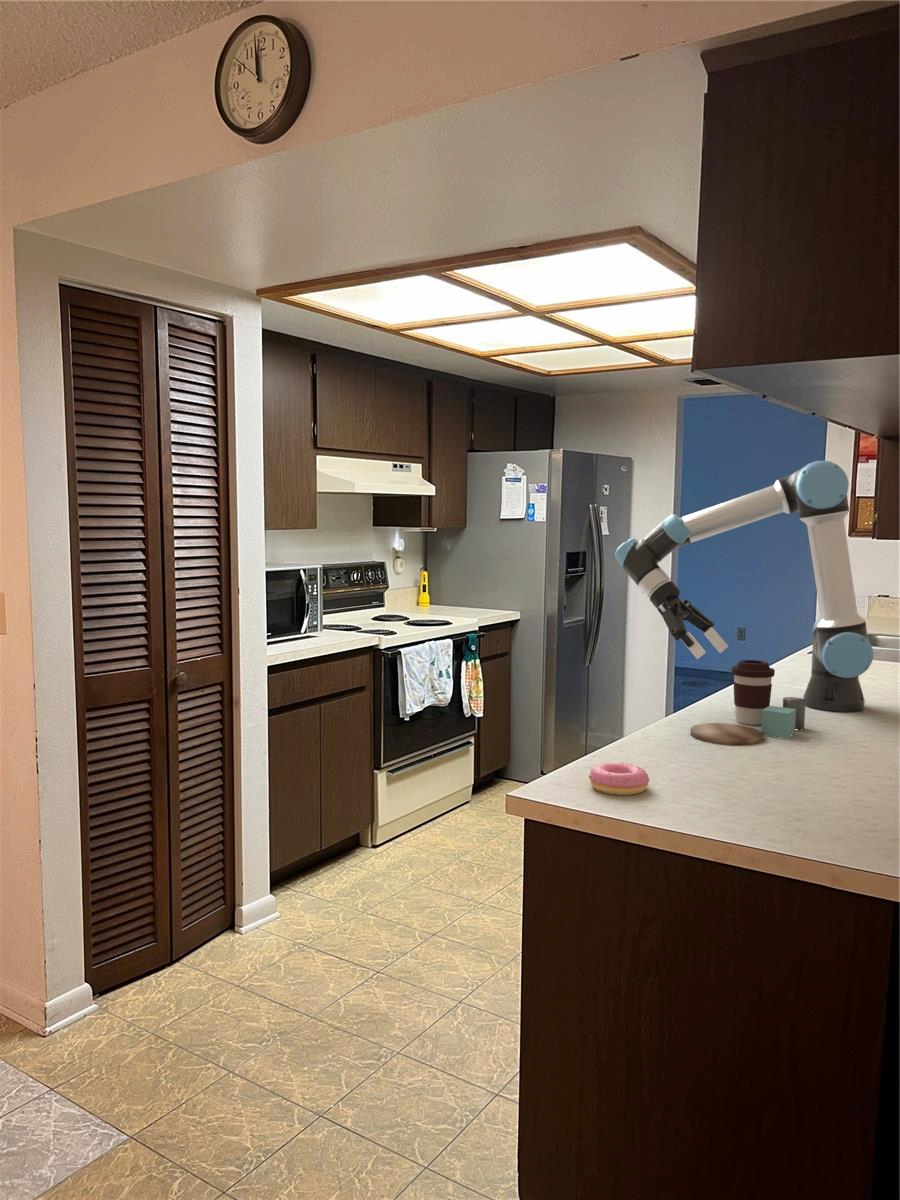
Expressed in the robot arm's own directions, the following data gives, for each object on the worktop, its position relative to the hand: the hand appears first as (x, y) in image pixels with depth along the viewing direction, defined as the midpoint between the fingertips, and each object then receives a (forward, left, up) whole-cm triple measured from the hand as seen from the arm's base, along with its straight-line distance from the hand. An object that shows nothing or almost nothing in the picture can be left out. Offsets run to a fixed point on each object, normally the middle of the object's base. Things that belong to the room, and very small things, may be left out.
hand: (713, 652), depth 227 cm
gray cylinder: (-13, +15, -16) cm, 26 cm away
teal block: (-6, +21, -16) cm, 27 cm away
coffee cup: (-6, +8, -16) cm, 19 cm away
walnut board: (+7, +20, -16) cm, 27 cm away
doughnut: (+47, +53, -17) cm, 73 cm away
